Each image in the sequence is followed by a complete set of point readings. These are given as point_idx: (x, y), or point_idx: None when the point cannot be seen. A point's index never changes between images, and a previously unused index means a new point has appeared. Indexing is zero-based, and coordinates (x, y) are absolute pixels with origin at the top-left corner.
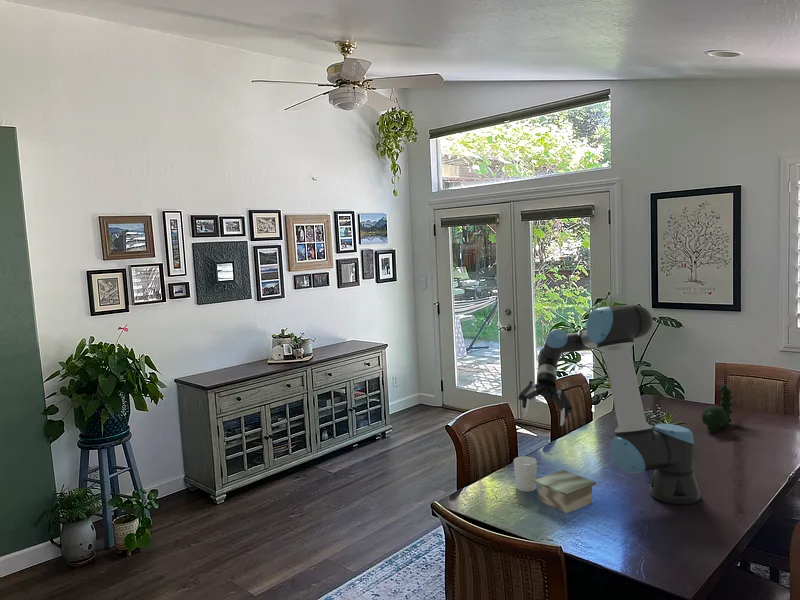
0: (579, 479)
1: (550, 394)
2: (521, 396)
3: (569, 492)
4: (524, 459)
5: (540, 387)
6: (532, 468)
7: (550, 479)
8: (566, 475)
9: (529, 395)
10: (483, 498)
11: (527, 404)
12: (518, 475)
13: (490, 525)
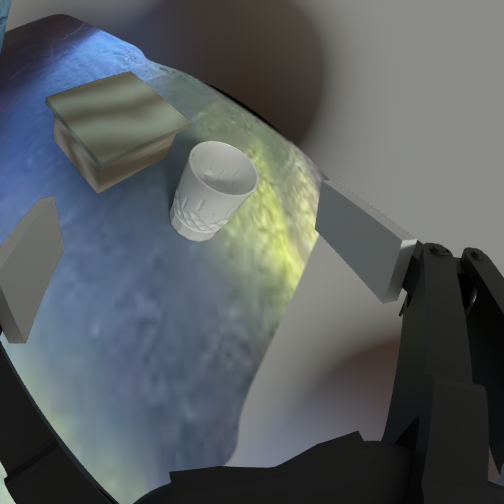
0: (77, 110)
1: (167, 489)
2: (461, 257)
3: (123, 73)
4: (225, 199)
5: (471, 463)
6: (197, 153)
7: (150, 119)
8: (102, 130)
9: (437, 275)
10: (277, 183)
11: (367, 207)
12: (227, 177)
13: (245, 109)
